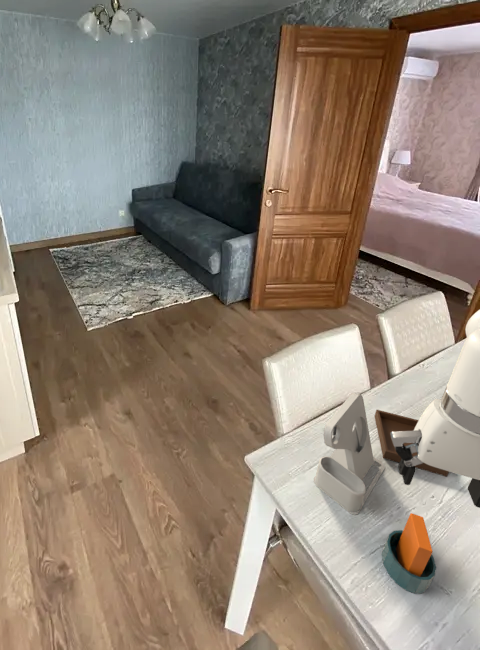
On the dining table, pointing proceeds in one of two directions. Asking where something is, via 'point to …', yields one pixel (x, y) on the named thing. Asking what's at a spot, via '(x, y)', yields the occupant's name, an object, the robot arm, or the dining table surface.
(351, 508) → the phone holder
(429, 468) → the tray
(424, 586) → the cup
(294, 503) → the dining table surface
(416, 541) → the block
